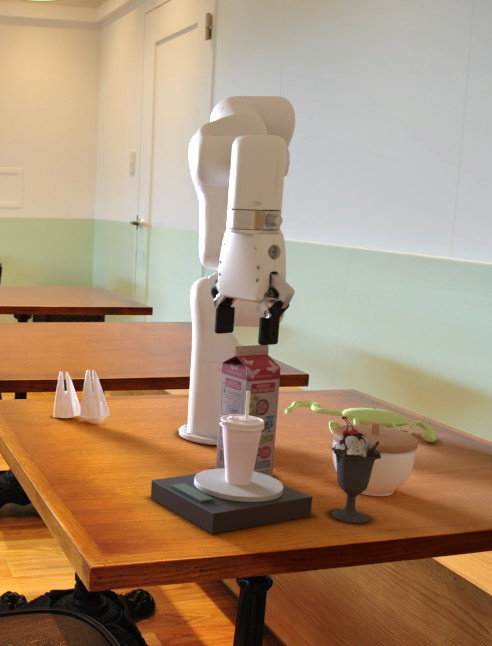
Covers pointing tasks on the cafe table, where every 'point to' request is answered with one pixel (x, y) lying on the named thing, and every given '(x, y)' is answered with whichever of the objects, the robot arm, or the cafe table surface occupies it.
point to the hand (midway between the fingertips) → (245, 338)
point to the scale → (230, 500)
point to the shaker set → (91, 403)
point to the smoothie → (241, 445)
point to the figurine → (367, 418)
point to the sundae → (353, 470)
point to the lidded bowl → (385, 456)
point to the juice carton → (251, 399)
